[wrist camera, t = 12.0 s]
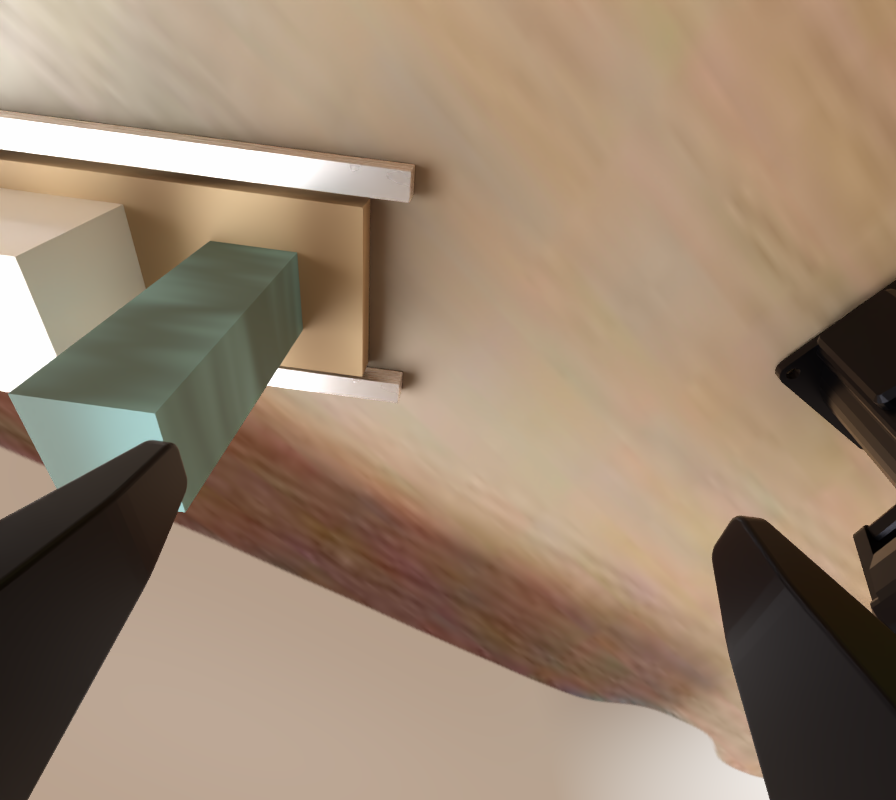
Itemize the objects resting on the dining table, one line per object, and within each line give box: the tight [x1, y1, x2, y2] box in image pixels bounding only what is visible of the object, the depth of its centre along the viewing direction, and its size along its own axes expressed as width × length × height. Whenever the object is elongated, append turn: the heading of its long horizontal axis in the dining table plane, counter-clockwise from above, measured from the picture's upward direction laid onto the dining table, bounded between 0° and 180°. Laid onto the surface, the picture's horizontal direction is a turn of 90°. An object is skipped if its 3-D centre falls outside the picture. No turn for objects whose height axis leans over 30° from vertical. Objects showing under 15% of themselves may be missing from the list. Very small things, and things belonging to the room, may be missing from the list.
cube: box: [0, 188, 146, 392], centre depth 18 cm, size 5×5×5 cm
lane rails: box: [0, 110, 415, 403], centre depth 20 cm, size 27×10×1 cm, turn 84°
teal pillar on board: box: [0, 149, 370, 512], centre depth 16 cm, size 15×7×11 cm, turn 84°
